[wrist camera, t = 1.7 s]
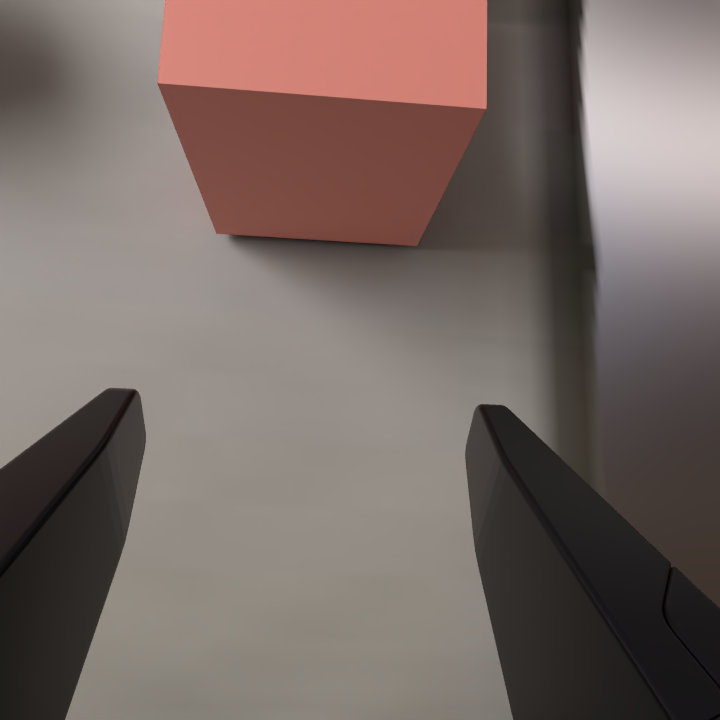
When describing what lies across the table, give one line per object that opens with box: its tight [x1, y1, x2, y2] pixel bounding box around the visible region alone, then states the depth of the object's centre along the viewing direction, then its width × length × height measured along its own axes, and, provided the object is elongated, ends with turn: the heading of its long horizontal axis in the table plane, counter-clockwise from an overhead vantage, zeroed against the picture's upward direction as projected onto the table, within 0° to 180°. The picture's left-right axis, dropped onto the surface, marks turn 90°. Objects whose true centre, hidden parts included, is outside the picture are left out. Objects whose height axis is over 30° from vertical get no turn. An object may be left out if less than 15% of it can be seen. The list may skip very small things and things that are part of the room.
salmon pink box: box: [158, 0, 487, 246], centre depth 19 cm, size 9×7×9 cm
